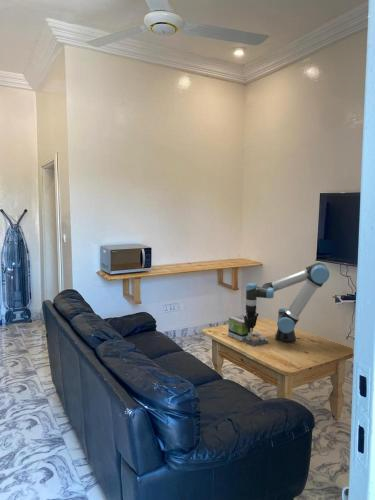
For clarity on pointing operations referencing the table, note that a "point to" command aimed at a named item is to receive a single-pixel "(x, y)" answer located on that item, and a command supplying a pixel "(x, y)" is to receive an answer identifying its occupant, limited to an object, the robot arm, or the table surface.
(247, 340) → the keypad board
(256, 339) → the rust key
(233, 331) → the tea box
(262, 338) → the ivory key
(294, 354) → the table surface
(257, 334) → the slate key
